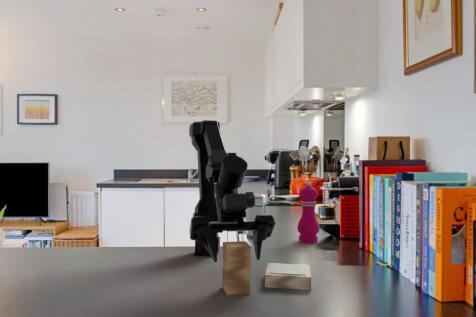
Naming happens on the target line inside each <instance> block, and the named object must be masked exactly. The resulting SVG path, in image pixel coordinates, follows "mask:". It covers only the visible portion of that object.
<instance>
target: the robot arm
mask: <svg viewBox="0 0 476 317" xmlns="http://www.w3.org/2000/svg"><path fill="white" fill-rule="evenodd" d="M188 129H189V130H188V134H189V135H188V136H189V137H190V138H191V145H192V146H193V147H194V149H195V150H196V152H197V154H196V155H197V170H198V171H197V172H198V174H197V175H198V187H199V188H198V193H199V200H198V202H197V204H196V205H195V207H194V212H193V214H192V217H191V219H190V225H189V238H190V240H192V241H194V252H193V253H192V254H193V255H194V256H210V257H211V258H212V260H213V262H214V263H217V262H218V253H219V252H220V250H221V237H220V236H219V233H220V234H222V233H223V232H248V231H253V235H254V236H253V239H252V243H253V249H254V253H255V258H256V260H257V261H260V260H261V252H262V246H263V241H266V240H267V239H268V238H270V237H272V233H273V231H274V228H275V226H276V219H275V217H274V216H273V215H272V214H266V215H256V217H255V220H254V221H251V222H248V221H245V220H244V219H245V218H246V217H247V212H246V210H248V208H253V206H254V205H255V197H254V194H255V193H254V192H253V191H246V192H245V193H239V192H240V191H239V188H241V187H242V185H243V181H244V180H245V176H246V172H247V170H248V165H249V164H248V162H247V161H246V160H245V159H244V158H242V157H240V156H239V155H237V152H227V150H226V148H225V145H224V144H225V143H224V140H223V138H222V134H221V123H220V121H217V120H212V119H211V120H210V119H208V120H207V119H203V120H201V121H193V123H191V124H190V125H189V128H188Z"/></svg>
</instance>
